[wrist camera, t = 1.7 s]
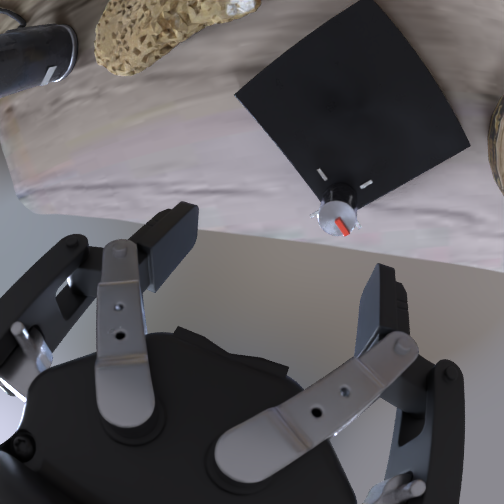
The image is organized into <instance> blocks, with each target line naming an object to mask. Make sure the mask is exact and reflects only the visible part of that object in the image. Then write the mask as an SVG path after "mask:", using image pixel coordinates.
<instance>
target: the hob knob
mask: <svg viewBox="0 0 504 504" xmlns="http://www.w3.org/2000/svg"><path fill="white" fill-rule="evenodd" d="M357 202H358V199H357V194H356V192H355V191H354V189H353V188H352V187H350V186H349V185H347V184H344V183H335V184H332V185H330V186H329V187H328V188H327V189H326V190H325V192H324V195H323V198H322V202H321V205H320V209H319V212H318V222H319V225H320V226H321V228H322V229H323V230H324V231H325V232H327V233H328V234H331V235H334V236H343V235H344V236H347V235H349V234H350V232H351V231H352V230H353V229H354V227H355V225H356V222H357Z"/></svg>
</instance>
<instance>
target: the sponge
mask: <svg viewBox="0 0 504 504" xmlns="http://www.w3.org/2000/svg"><path fill="white" fill-rule="evenodd" d="M260 5H261V0H110V1H109V2H108V3H107V6H106V8H105V10H104V12H103V14H102V17H101V19H100V20H99V21H98V22H99V24H97V27H96V29H95V32H96V40H95V41H94V44H95V51H94V52H95V58H96V61H97V64H98V65H103V66H104V67H105V68H107V69H108V71H110V72H111V73H113V74H115V75H119V76H132V75H134V74H137V73H140V72H142V71H143V70H145V69H146V68H147V67H150V66H151V65H152V64H153V63H155V62H156V61H157V60H159V59H160V58H161V57H162V56H164V55H166V54H168V53H169V52H170V51H171V50H172V49H173V48H174V47H175V46H176V45H177V44H178V43H180V42H183V41H185V40H186V39H188V38H189V37H191V36H192V35H193V34H194V33H196V32H198V31H200V30H201V29H203V28H205V27H206V26H211V25H213V24H215V23H219V24H220V23H225V22H231V21H232V20H234V19H240V18H242V17H244V16H246V15H247V14H249V13H252V12H256V11H257V9H258V7H259V6H260Z"/></svg>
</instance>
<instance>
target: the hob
mask: <svg viewBox="0 0 504 504" xmlns="http://www.w3.org/2000/svg"><path fill="white" fill-rule="evenodd" d="M234 96H235V97H236V98H237V99H238V100H239V101H240V102H241V104H242V105H243V106H244V107H245V108H246V109H247V110H248V112H249V113H250V114H251V115H252V116H253V117H254V119H255V120H256V121H257V122H258V123H259V124H260V126H261V127H262V128H263V129H264V130H265V132H266V133H267V134H268V135H269V136H270V138H271V139H272V140H273V141H274V142H275V144H276V145H277V146H278V147H279V149H280V150H281V151H282V152H283V154H284V155H285V156H286V157H287V159H288V160H289V161H290V162H291V164H292V165H293V166H294V167H295V169H296V170H297V171H298V173H299V174H300V175H301V176H302V178H303V179H304V180H305V182H306V183H307V184H308V186H309V187H310V188H311V190H312V191H313V192H314V193H315V195H316V196H317V198H318V199H319V200H320V202H322V198H323V195H324V192H325V190H326V189H327V188H328V187H329V186H330V185H332V184H335V183H344V184H347V185H349V186H350V187H352V188H353V189H354V191H355V192H356V194H357V199H358V202H357V210H358V209H360V208H362V207H363V206H365V205H367V204H369V203H371V202H372V201H374V200H376V199H378V198H380V197H381V196H383V195H385V194H387V193H389V192H390V191H392V190H394V189H396V188H397V187H399V186H401V185H403V184H405V183H406V182H408V181H410V180H412V179H413V178H415V177H417V176H419V175H421V174H422V173H424V172H426V171H428V170H429V169H431V168H433V167H435V166H436V165H438V164H440V163H442V162H443V161H445V160H447V159H449V158H450V157H452V156H454V155H456V154H457V153H459V152H461V151H463V150H464V149H466V148H468V147H470V146H471V145H470V143H469V141H468V139H467V137H466V135H465V133H464V131H463V129H462V127H461V125H460V123H459V121H458V119H457V117H456V116H455V114H454V112H453V110H452V108H451V107H450V105H449V103H448V101H447V100H446V98H445V96H444V95H443V93H442V91H441V90H440V88H439V86H438V85H437V83H436V82H435V80H434V78H433V77H432V75H431V74H430V72H429V71H428V69H427V68H426V66H425V65H424V63H423V62H422V60H421V59H420V58H419V56H418V55H417V53H416V52H415V51H414V49H413V48H412V47H411V45H410V44H409V43H408V41H407V40H406V39H405V37H404V36H403V35H402V33H401V32H400V31H399V30H398V28H397V27H396V26H395V25H394V23H393V22H392V21H391V20H390V19H389V18H388V16H387V15H386V14H385V13H384V12H383V11H382V9H381V8H380V7H379V6H378V5H377V4H376V3H375V2H374V1H373V0H360V1H358V2H357V3H355V4H353V5H352V6H350V7H349V8H347V9H345V10H344V11H342V12H341V13H339V14H338V15H336V16H335V17H333V18H332V19H330V20H329V21H327V22H326V23H324V24H323V25H322V26H320V27H319V28H317V29H316V30H314V31H313V32H312V33H310V34H309V35H307V36H306V37H305V38H303V39H302V40H301V41H299V42H298V43H297V44H295V45H294V46H293V47H291V48H290V49H289V50H287V51H286V52H285V53H283V54H282V55H281V56H280V57H278V58H277V59H276V60H275V61H273V62H272V63H271V64H270V65H268V66H267V67H266V68H265V69H263V70H262V71H261V72H260V73H259V74H257V75H256V76H255V77H254V78H253V79H251V80H250V81H249V82H248V83H247V84H246V85H244V86H243V87H242V88H241V89H240V90H239V91H238V92H236V93H235V94H234ZM318 212H319V210H317V211H316V212H314V213H312V214H310V217H311V218H312V217H314V216H316V215H318ZM356 226H357V227H358V229H360V228H361V225H360V224H359V222H358V221H357V222H356Z"/></svg>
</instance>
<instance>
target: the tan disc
mask: <svg viewBox="0 0 504 504" xmlns="http://www.w3.org/2000/svg"><path fill="white" fill-rule="evenodd" d="M488 154H489V163H490V166H491V170H492V173H493V177H494V180H495V182H496V184H497V185H498V187H499V189H500V190H501V192H502V194H503V195H504V95H503V96H502V97H501V98H500V100H499V102H498V104H497V106H496V108H495V110H494V113H493V115H492V117H491V123H490V128H489V134H488Z"/></svg>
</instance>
